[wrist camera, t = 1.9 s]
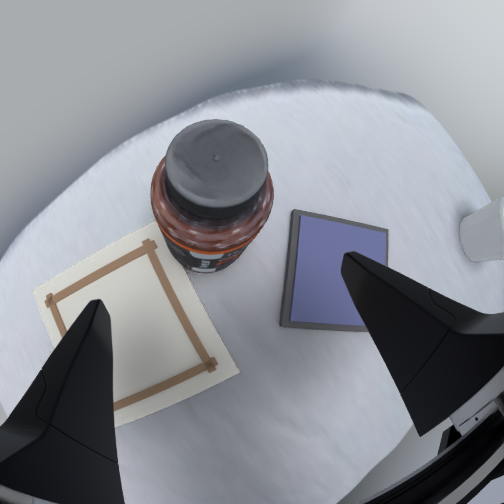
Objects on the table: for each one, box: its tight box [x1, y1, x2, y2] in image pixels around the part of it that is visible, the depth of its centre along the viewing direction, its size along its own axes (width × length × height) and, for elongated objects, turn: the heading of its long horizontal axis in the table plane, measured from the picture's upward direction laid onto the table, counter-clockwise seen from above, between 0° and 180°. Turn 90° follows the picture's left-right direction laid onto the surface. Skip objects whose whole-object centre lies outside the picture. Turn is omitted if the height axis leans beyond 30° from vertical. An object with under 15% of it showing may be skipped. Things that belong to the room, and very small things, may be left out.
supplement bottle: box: [151, 119, 274, 273], centre depth 15 cm, size 6×6×11 cm
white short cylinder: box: [459, 196, 504, 262], centre depth 22 cm, size 7×7×7 cm
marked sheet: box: [32, 220, 240, 428], centre depth 18 cm, size 13×13×1 cm
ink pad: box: [280, 209, 388, 332], centre depth 22 cm, size 9×9×1 cm
